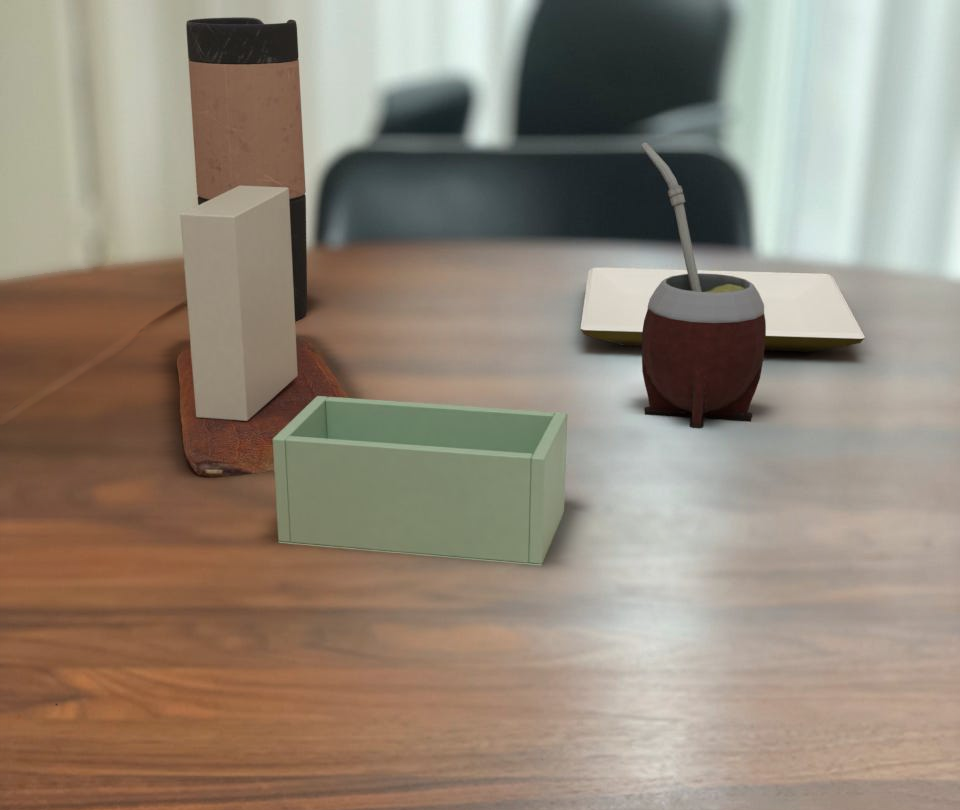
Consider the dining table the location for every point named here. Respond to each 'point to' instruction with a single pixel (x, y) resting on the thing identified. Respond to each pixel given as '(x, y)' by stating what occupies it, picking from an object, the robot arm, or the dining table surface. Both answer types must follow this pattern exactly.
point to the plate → (786, 296)
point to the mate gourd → (701, 336)
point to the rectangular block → (240, 300)
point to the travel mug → (250, 118)
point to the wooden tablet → (249, 442)
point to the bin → (421, 479)
